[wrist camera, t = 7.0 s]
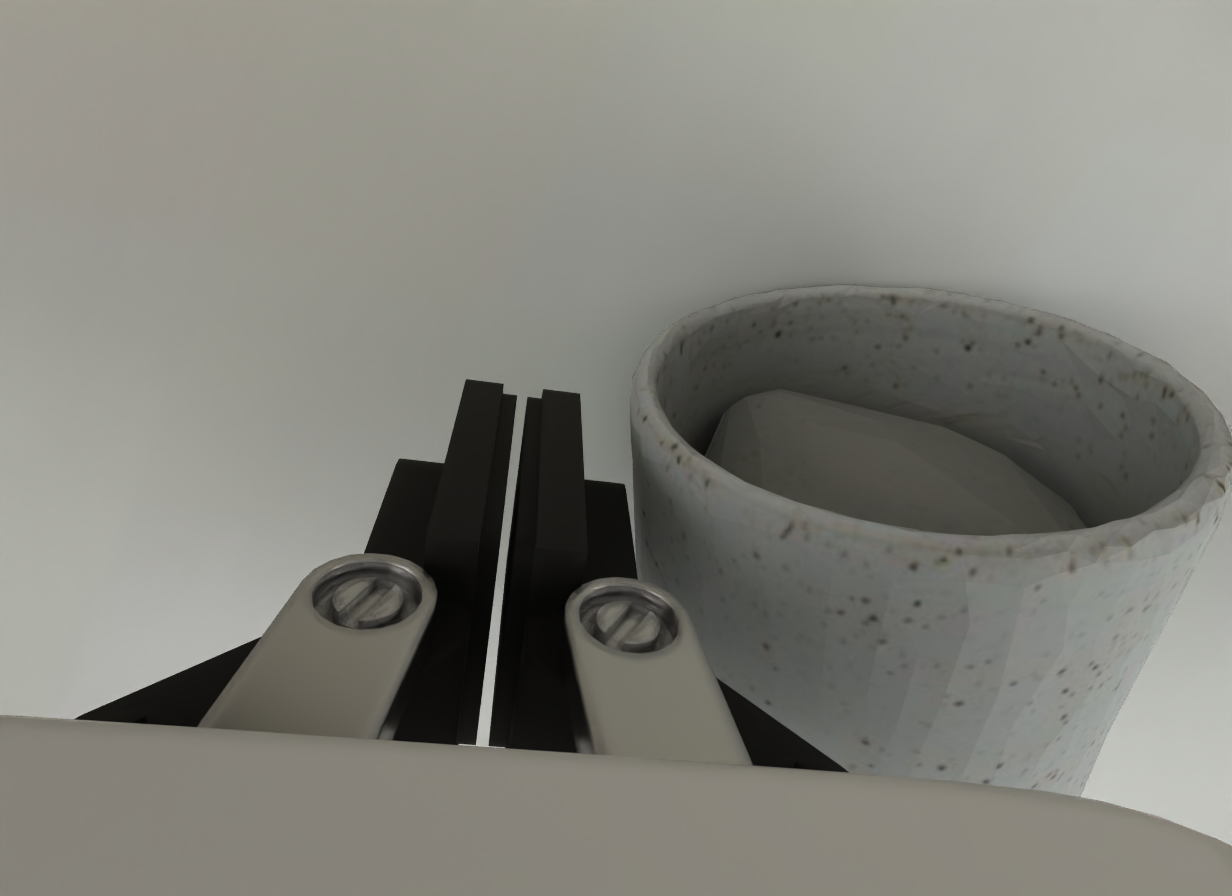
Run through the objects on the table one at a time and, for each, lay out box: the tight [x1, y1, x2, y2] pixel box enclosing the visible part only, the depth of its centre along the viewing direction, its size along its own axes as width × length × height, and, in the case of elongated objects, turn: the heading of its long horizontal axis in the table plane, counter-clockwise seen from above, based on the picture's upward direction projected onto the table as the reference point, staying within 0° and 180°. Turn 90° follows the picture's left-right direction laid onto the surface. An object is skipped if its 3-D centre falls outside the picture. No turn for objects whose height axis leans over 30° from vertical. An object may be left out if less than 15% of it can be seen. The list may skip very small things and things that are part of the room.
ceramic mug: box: [630, 285, 1232, 797], centre depth 13 cm, size 11×8×8 cm
